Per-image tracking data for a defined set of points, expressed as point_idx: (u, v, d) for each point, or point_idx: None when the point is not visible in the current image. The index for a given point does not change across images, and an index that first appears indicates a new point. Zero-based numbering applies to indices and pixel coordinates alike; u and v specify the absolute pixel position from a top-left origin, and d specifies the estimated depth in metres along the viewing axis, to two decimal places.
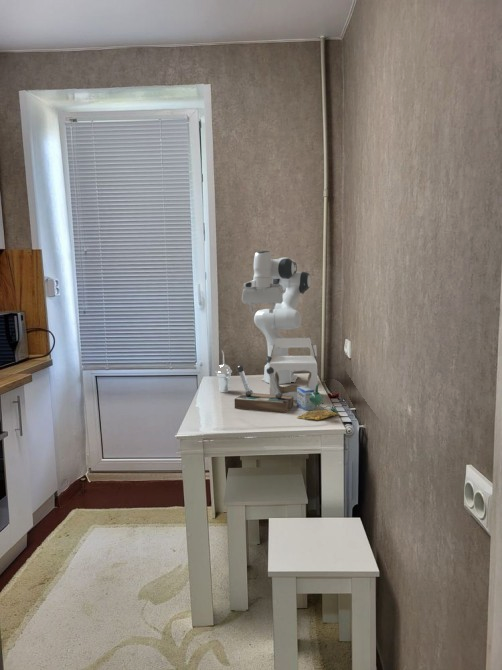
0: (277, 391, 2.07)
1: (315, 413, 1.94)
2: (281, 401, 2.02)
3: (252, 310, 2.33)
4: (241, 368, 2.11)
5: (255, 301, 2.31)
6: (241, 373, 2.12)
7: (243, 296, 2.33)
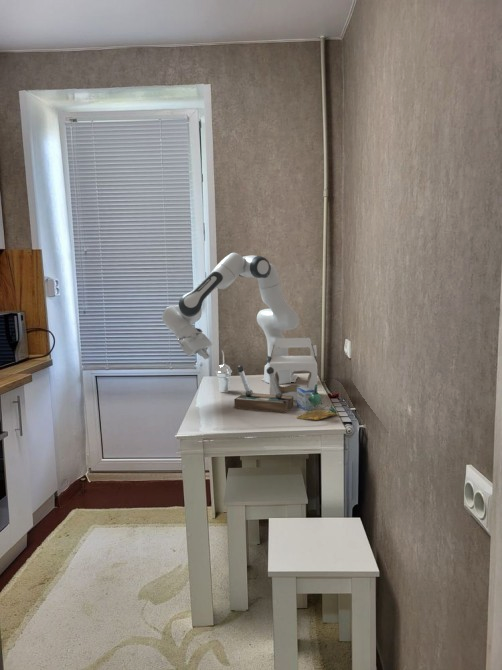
0: (277, 391, 2.07)
1: (314, 413, 1.94)
2: (281, 401, 2.02)
3: None
4: (241, 368, 2.11)
5: None
6: (241, 373, 2.12)
7: None
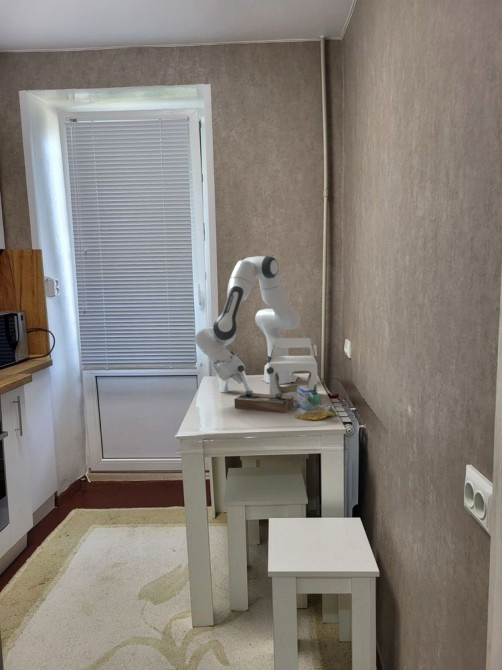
0: (277, 391, 2.07)
1: (313, 413, 1.94)
2: (281, 401, 2.02)
3: None
4: (242, 368, 2.11)
5: None
6: (242, 373, 2.12)
7: None
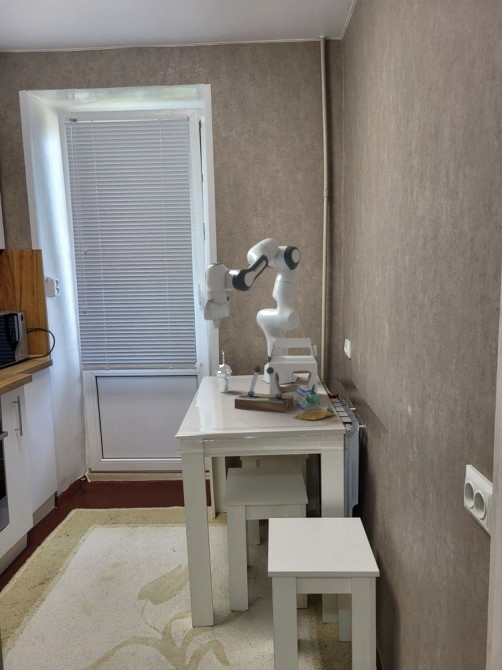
0: (277, 391, 2.07)
1: (311, 413, 1.94)
2: (281, 401, 2.02)
3: None
4: (258, 370, 2.08)
5: None
6: (255, 374, 2.09)
7: None
